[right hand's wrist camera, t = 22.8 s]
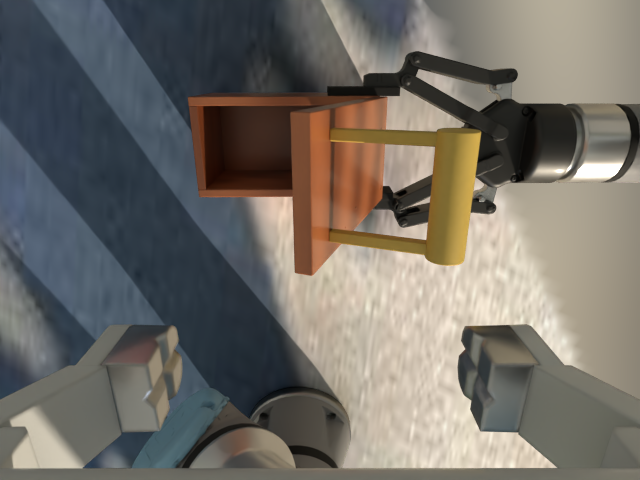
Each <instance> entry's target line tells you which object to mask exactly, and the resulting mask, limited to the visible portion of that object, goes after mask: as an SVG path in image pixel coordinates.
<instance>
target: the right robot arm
mask: <svg viewBox="0 0 640 480" xmlns="http://www.w3.org/2000/svg"><path fill="white" fill-rule="evenodd" d="M178 341H179V339H178V334H177V329H176V328H175V327H174V326H171V325H111V326H109V327H108V328H107V329H106V330H105V331H104V332H103V333H102V335H101V336H100V337H99V338H98V339H97V341H96V342H95V343H94V344H93V345H92V346H91V348H90V349H89V350H88V351H87V352H86V353H85V355H84V356H83V357H82V358H81V359H80V361H79V362H78V363H77V364H76V365H71V366H67V367H65V368H63V369H61V370H59V371H57V372H55V373H53V374H51V375H49V376H47V377H45V378H43V379H40V380H38V381H36V382H34V383H32V384H30V385H28V386H26V387H24V388H22V389H20V390H18V391H16V392H14V393H12V394H10V395H8V396H6V397H4V398H2V399H0V480H640V400H639V399H637V398H635V397H633V396H631V395H629V394H627V393H625V392H623V391H621V390H619V389H617V388H615V387H613V386H611V385H609V384H607V383H605V382H603V381H601V380H599V379H597V378H595V377H593V376H591V375H589V374H587V373H585V372H583V371H581V370H579V369H577V368H575V367H573V366H569V365H564V364H563V363H562V362H561V361H560V359H559V358H558V357H557V356H556V355H555V354H554V352H553V351H552V350H551V349H550V348H549V347H548V345H547V344H546V343H545V342H544V341H543V339H542V338H541V337H540V336H539V335H538V334H537V332H536V331H535V330H534V329H533V328H532V327H531V326H529V325H527V324H522V325H497V326H465V327H464V330H463V333H462V339H461V341H462V343H463V345H464V347H465V350H464V351H463V352H462V353H461V354H460V355H459V360H458V379H459V383H460V387H461V389H462V392H463V394H464V395H465V396H466V397H467V398H469V399H470V400H472V401H471V408H470V410H471V412H472V414H473V416H474V418H475V420H476V423H477V425H478V427H479V429H480V431H487V432H519V435H520V436H521V437H522V438H524V439H525V440H526V441H527V442H528V443H529V444H531V445H532V446H533V447H534V448H535V449H536V450H538V451H539V452H540V453H541V454H542V455H543V456H545V457H546V458H547V459H548V460H549V461H550V462H552V463H553V464H554V465H555V466H556V467H557V468H83V467H84V466H85V465H86V464H87V463H89V462H90V461H91V460H92V459H93V458H94V457H96V456H97V455H98V454H99V453H100V452H101V451H103V450H104V449H105V448H106V447H107V446H108V445H110V444H111V443H112V442H113V441H114V440H116V439H117V438H118V437H119V436H120V435H121V432H152V431H160V429H161V427H162V425H163V423H164V420H165V418H166V416H167V414H168V412H169V410H170V408H169V401H168V400H170V399H171V398H173V397H174V396H175V395H176V394H177V391H178V389H179V387H180V382H181V377H182V360H181V355H180V354H179V353H178V352H177V351H176V350H175V347H176V345H177V343H178Z"/></svg>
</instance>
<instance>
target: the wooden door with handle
mask: <svg viewBox="0 0 640 480" xmlns="http://www.w3.org/2000/svg"><path fill="white" fill-rule="evenodd" d="M386 115H387V97H377V96H375V97H370V98H364V99H359V100H353V101H347V102H342V103H336V104H331V105H325V106H320V107H314V108H309V109H303V110H298V111H292V112H291V113H290V118H291V153H292V188H293V224H294V259H295V273H298V274H304V275H310V276H313V275H314V273H315V272H316V271H317V270H318V269H319V268H320V267H321V266H322V265H323V263H324V262H325V261H326V260H327V259H328V258H329V257H330V256H331V255H332V254H333V252H334V251H335V250H336V249H337V248H338V247H339V246H340V245H341V244H348V245H356V246H363V247H370V248H377V249H385V250H392V251H399V252H406V253H414V254H421V255H425V258H426V259H427V260H428V261H430V262H432V263H435V264H438V265H444V266H454V265H459V264H461V263H463V261H464V257H465V250H466V242H467V235H468V227H469V220H470V212H471V205H472V197H473V190H474V182H475V175H476V167H477V160H478V152H479V145H480V138H481V131H480V130H476V129H467V128H442V129H438V130H437V132H430V131H405V130H386ZM385 144H394V145H413V146H433V147H435V156H434V166H433V177H432V187H431V197H430V208H429V218H428V229H427V239H426V240H420V239H412V238H404V237H396V236H389V235H381V234H373V233H365V232H357V231H353V230H354V229H355V228H356V227H357V226H358V225H359V224H360V222H361V221H362V220H363V219H364V218H365V217H366V216H367V215H368V214H369V213H370V211H371V210H372V209H373V208H374V207H375V206H376V205H377V204H378V203H379V201H380V200H381V199H382V191H383V172H384V153H385Z"/></svg>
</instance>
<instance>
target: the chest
mask: <svg viewBox="0 0 640 480" xmlns="http://www.w3.org/2000/svg"><path fill="white" fill-rule="evenodd" d="M370 97H375V96H328V95H327V92H268V93H209V94H203V95H197V96H191V97H188V103H189V112H190V121H191V130H192V138H193V147H194V156H195V165H196V174H197V183H198V189H199V190H198V191H199V197H293V188H292V153H291V118H290V113H291V112H292V111H298V110H303V109H309V108H314V107H320V106H325V105H331V104H336V103H342V102H347V101H353V100H359V99H364V98H370ZM377 97H380V96H377Z"/></svg>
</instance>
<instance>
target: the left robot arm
mask: <svg viewBox="0 0 640 480" xmlns="http://www.w3.org/2000/svg"><path fill="white" fill-rule="evenodd" d="M418 69H421V70H425V71H429V72H433V73H436V74H440V75H444V76H448V77H452V78H456V79H459V80H463V81H467V82H471V83H475V84H486V90H487V91H488V92H489V93H494V94H495V95H496V97H497V100H495V101H494V102H493V103H491V104H490V105H488V106H487V107H485V108H484V109H482V110H481V111H479V112H478V111H476V110H474V109H472V108H470V107H468V106H466V105H464V104H463V103H461V102H459V101H457V100H456V99H454V98H452V97H450V96H449V95H447V94H445V93H443V92H442V91H440V90H438V89H436V88H435V87H433V86H431V85H429V84H428V83H426V82H424V81H422V80H421V79H419V78H417V77H415V76H416V74H417V72H418ZM517 76H518V73H517V71H516V70H515V69H496V70H487V69H483V68H479V67H476V66H472V65H468V64H464V63H461V62H457V61H453V60H449V59H445V58H442V57H438V56H434V55H430V54H427V53H423V52H419V51H416V52H412V53H409V54H407V55H406V57H405V62H404V64H403V67H402V69H401V70H400V71H399V72H397V73H369V74H366V75H364V80H363V86H327V95H328V96H400V87H402V88H404V89H405V90H407V91H409V92H411V93H413V94H414V95H416V96H418V97H420V98H421V99H423V100H425V101H427V102H429V103H430V104H432V105H434V106H436V107H437V108H439V109H441V110H443V111H445V112H446V113H448V114H450V115H452V116H453V117H455V118H456V119H458V120H460V121H462V122H463V123H465V124H464V127H461V128H467V129H476V130H480V131H481V138H480V145H479V152H478V160H477V167H476V175H475V177H476V178H478V179H479V180H480V181H482V182H483V183H484V186H483V188H481V189H479V190H475V191H473V197H472V205H471V212H470V213H481V214H492V213H494V212H495V210H496V205H495V204H494V203H493V201H494V197H495V193H496V190H497V188H498V187H501V186H503V185H505V184H507V183H552V182H555V181H557V182H559V183H589V182H590V183H591V182H629V183H640V104H623V105H622V104H567V105H563V104H520V103H517V102H516V101H514V100H512V99H511V95H512V82H514V81H515V80H516V79H517ZM432 177H433V174H432V175H430V176H428V177H426V178H424V179H422V180H420V181H418V182H416V183H414V184H412V185H410V186H408V187H406V188H403V189H401V190H399V191H397V192H395V193H393V192H392V190H391V188H390V187H389V186H383V191H382V199H381V200H380V201H379V203H378V204H377V205H376V206H375V207H374V208H373V209H389V210H392V211H393V212H394V216H395V218H396V220H397V222H398V224H399V226H400V227H403V228H405V227H410V226H414V225H419V224H423V223H428V218H429V208H430V203H426V204H421V205H417V206H412V205H414V204H416V203H418V202H420V201H422V200H424V199H426V198H428V197H431V187H432ZM409 206H412V207H409ZM407 207H408V208H407ZM229 400H230V399H229V398H228V397H225V396H224V395H222V394H221V393H220V392H219V391H217V390H216V389H213V388H206V389H202V390H200V391H198V392H196V393H195V394H193V395H192V396H190V397H189V398H188V399H186V400H185V401H184V402H183V403H182V404H180V405H179V406H178V407H177V408H176V409H175V410H174V411H173V412H172V413H171V414H170V415H169V416H168V417H167V418H166V419H165V420H164V423H163V425H162V427H161V429H160V431H155V432H154V433H153V435H152V436H151V437H150V439H149V440H148V441H147V443H146V444H145V445H144V447H143V448H142V450H141V451H140V453H139V455H138V456H137V458H136V460H135V461H134V463H133V466H132V468H342V467H343V464H344V461H345V458H346V454H347V451H348V448H349V444H350V440H351V431H350V422H349V418H348V415H347V413H346V411H345V409H344V408H343V406H342V405H341V404H340V403H339V402H338V401H337V400H336V399H334V398H333V397H331V396H330V395H328V394H326V393H324V392H321V391H319V390H315V389H311V388H303V387H294V388H286V389H282V390H278V391H276V392H273V393H271V394H269V395H267V396H266V397H264V398H263V399H262V400H261V401H260V402H258V404H257V405H256V406H255V407H254V409H253V410H252V412H251V415H250V418H247V417H246V416H245V415H244V414H242V413H241V412H240V411H239V410H238V409H237V408H236V407H235V406H234V405H233V404H232V403H230V402H229Z"/></svg>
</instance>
